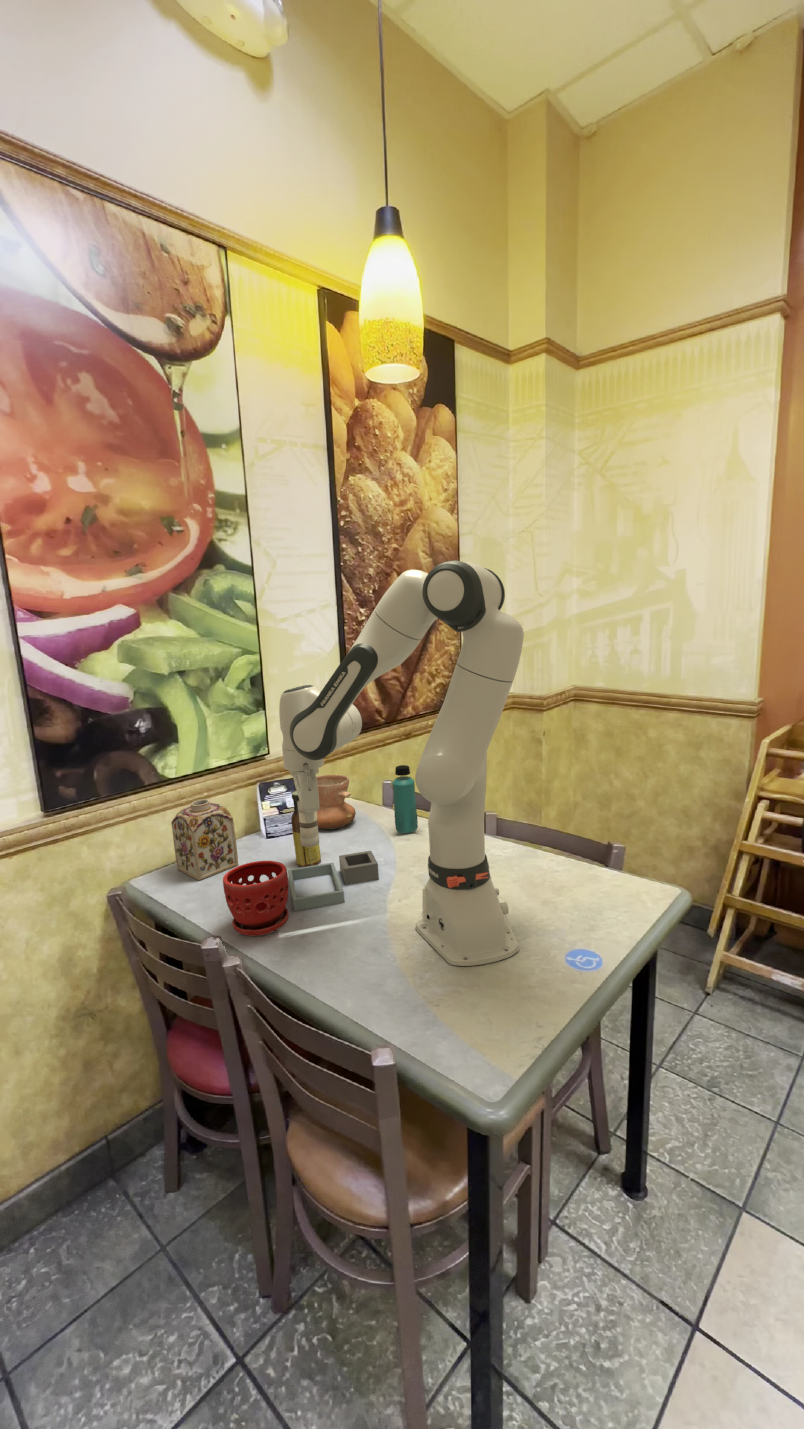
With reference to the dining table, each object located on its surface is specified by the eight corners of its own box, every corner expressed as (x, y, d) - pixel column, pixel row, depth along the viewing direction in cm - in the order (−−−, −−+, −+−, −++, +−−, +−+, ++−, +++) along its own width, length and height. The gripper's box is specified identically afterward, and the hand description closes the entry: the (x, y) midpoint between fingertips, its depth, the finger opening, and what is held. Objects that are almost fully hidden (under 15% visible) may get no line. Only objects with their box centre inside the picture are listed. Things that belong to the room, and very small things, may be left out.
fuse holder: (379, 883, 144) (377, 863, 143) (345, 889, 142) (344, 869, 141) (372, 869, 151) (370, 850, 151) (340, 874, 150) (338, 855, 149)
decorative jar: (240, 865, 158) (232, 799, 155) (198, 882, 150) (189, 812, 147) (216, 854, 167) (208, 791, 163) (176, 869, 158) (167, 803, 155)
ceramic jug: (369, 822, 184) (365, 776, 181) (333, 837, 173) (329, 789, 171) (329, 812, 196) (325, 769, 193) (293, 825, 185) (289, 780, 183)
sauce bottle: (323, 860, 158) (317, 787, 155) (318, 871, 152) (311, 795, 148) (299, 861, 159) (292, 788, 155) (292, 871, 153) (285, 796, 149)
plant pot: (303, 913, 132) (298, 861, 130) (268, 946, 120) (262, 889, 118) (253, 905, 137) (247, 855, 135) (215, 935, 125) (208, 881, 123)
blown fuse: (320, 845, 137) (317, 803, 135) (301, 848, 136) (298, 805, 134) (318, 838, 141) (315, 797, 139) (300, 841, 140) (296, 799, 138)
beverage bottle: (422, 835, 171) (418, 767, 167) (400, 840, 169) (395, 770, 165) (413, 828, 177) (409, 761, 173) (391, 832, 175) (387, 765, 171)
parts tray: (345, 906, 134) (343, 891, 133) (294, 915, 131) (293, 900, 131) (334, 875, 149) (333, 862, 149) (289, 883, 147) (287, 869, 146)
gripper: (323, 769, 125) (328, 832, 128) (312, 746, 145) (317, 802, 147) (292, 772, 124) (298, 836, 126) (285, 749, 143) (290, 805, 146)
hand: (308, 817), depth 137 cm, fingers closed on blown fuse, 4 cm apart
